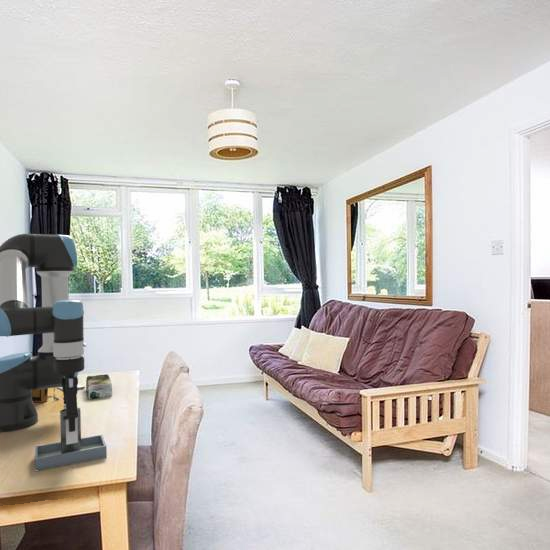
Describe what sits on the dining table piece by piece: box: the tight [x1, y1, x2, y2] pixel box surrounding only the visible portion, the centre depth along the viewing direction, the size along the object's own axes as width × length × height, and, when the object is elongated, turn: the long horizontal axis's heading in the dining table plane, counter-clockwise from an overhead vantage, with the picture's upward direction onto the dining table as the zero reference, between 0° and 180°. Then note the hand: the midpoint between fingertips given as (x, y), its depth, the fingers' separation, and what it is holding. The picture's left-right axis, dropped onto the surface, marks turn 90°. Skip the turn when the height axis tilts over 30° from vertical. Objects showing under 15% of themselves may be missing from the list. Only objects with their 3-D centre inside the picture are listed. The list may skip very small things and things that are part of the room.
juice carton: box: [85, 374, 113, 399], centre depth 188 cm, size 20×10×6 cm, turn 26°
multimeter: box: [29, 351, 59, 403], centre depth 178 cm, size 15×10×20 cm
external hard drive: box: [56, 383, 86, 391], centre depth 196 cm, size 2×8×12 cm
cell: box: [59, 407, 82, 454], centre depth 119 cm, size 5×5×13 cm
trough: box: [34, 434, 108, 471], centre depth 119 cm, size 10×17×3 cm, turn 118°
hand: (70, 435), depth 119 cm, fingers open, 13 cm apart
